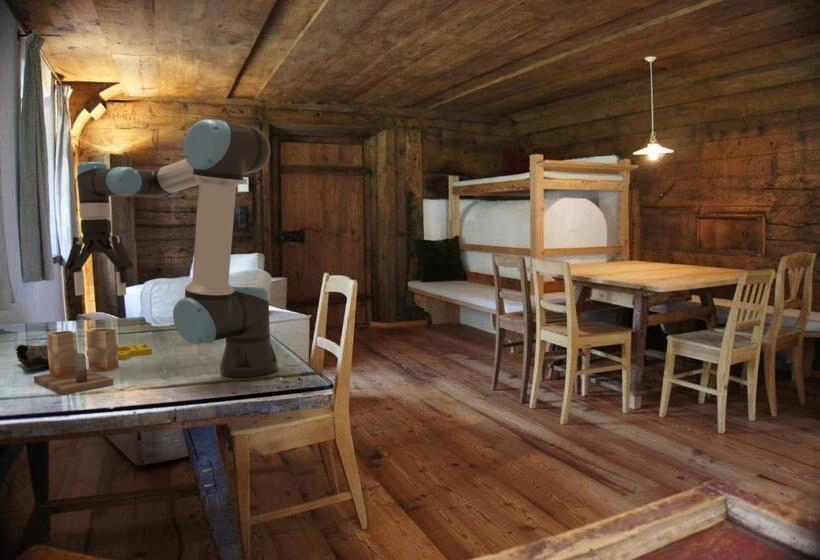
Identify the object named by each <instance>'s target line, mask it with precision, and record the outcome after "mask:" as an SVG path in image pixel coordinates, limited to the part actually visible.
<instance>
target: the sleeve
mask: <svg viewBox="0 0 820 560" xmlns="http://www.w3.org/2000/svg"><path fill="white" fill-rule="evenodd" d="M117 335H118V333H117V328H101V327H99V328H97V329H93V330H89V331H86V345H87V346H86V347H87V351H88V356H87V358H88V359H87V360H88V361H87V362H88V370H90V371H92V372H108V371H112V370H113V369H117V368H119V367H120V363H119V361H120V360H118V346H117V345H118V336H117Z"/></svg>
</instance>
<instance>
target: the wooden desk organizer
mask: <svg viewBox="0 0 820 560" xmlns="http://www.w3.org/2000/svg"><path fill="white" fill-rule="evenodd" d="M46 345H47V348H48V361H49V365H48V371H49V373H46V374H45V373H44V374H39V375H34V376H33V382H34V383H36V384H37V383H38V384H37V385H40V386H42V387H44V388H46V389H48V388H49V390H50V389H51V390H50V391H52V390H53V391H52V392H55V393H57V394H59V395H61V396H64V395H70V394H75V393H79V392H84V391H88V390H93V389H98V388H100V389H101V388H104V387H109V386H114V379H113V378H111V377H108V376H105V375H103V374H100V373H98V372H96V371H90V370H89V369H87V361H86V359H87V356H86V355H85V354H84V353H83V352H78V339H77V332H76V331H72V330H61V331H54V332H46Z"/></svg>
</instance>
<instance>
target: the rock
mask: <svg viewBox="0 0 820 560" xmlns="http://www.w3.org/2000/svg"><path fill="white" fill-rule="evenodd" d="M15 351H16V352H15V353H16V358H17V361H18V362H19V363H20V364H21V366H22V368H24V367H26V368H33V367H39V366H41V367H42V366H43V367H45V366H46V367H47V366H48V367H49V361H48V348H47V344H43V345H42V344H40V345H30V344H18V345H17V347H16V349H15Z"/></svg>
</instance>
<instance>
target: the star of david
mask: <svg viewBox="0 0 820 560" xmlns="http://www.w3.org/2000/svg"><path fill="white" fill-rule="evenodd" d="M117 346H118V361H122V362H123V361H124V362H125V361H127V360H128V359H130V358H132V357H141V356H146V355H147V356H149V355H153V348H152V347H151V348H150V347H147V343H143V344H141V343H140V344H131V345H119V344H117ZM86 357H88V350H86Z"/></svg>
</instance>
